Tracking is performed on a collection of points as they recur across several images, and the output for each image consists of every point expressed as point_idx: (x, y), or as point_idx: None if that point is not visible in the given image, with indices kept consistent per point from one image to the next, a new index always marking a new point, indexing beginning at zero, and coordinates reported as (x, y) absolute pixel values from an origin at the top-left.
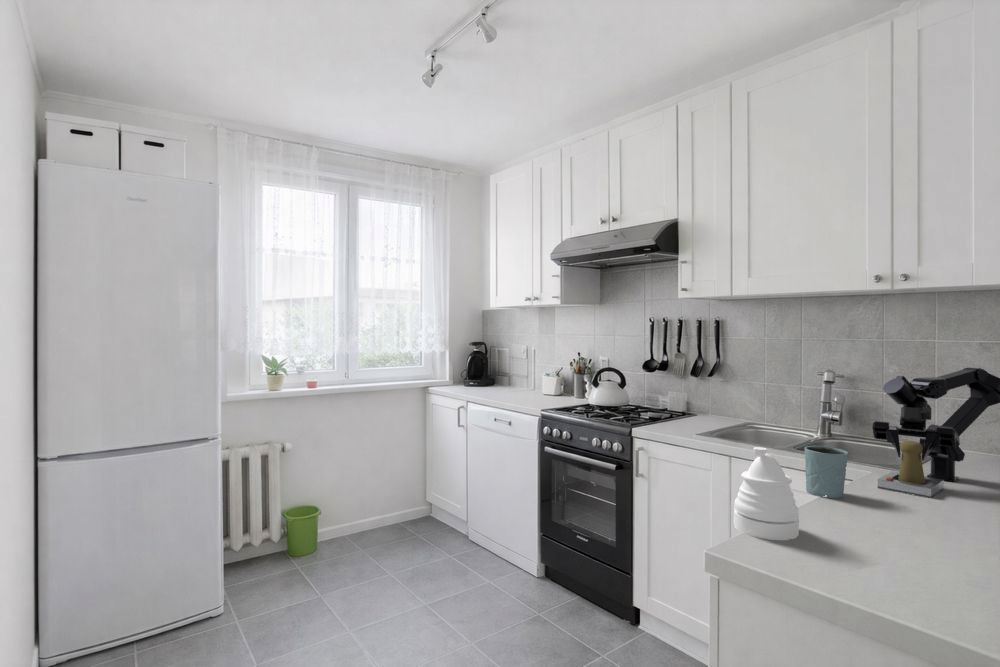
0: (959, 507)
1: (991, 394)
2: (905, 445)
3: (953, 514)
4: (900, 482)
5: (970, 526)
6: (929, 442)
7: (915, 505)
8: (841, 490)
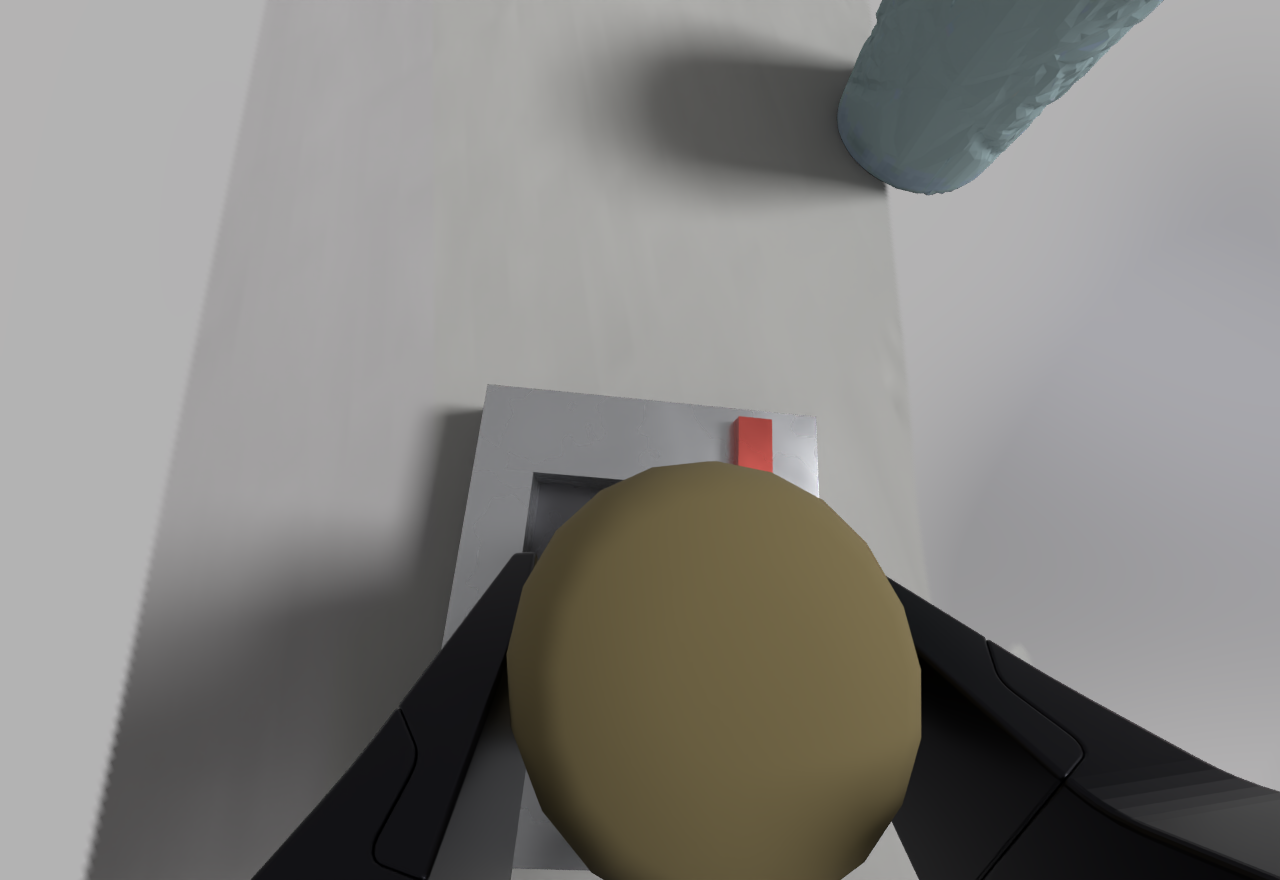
0: (357, 309)
1: None
2: (780, 480)
3: (392, 156)
4: (678, 425)
5: (335, 29)
6: (299, 877)
7: (554, 197)
8: (853, 72)
